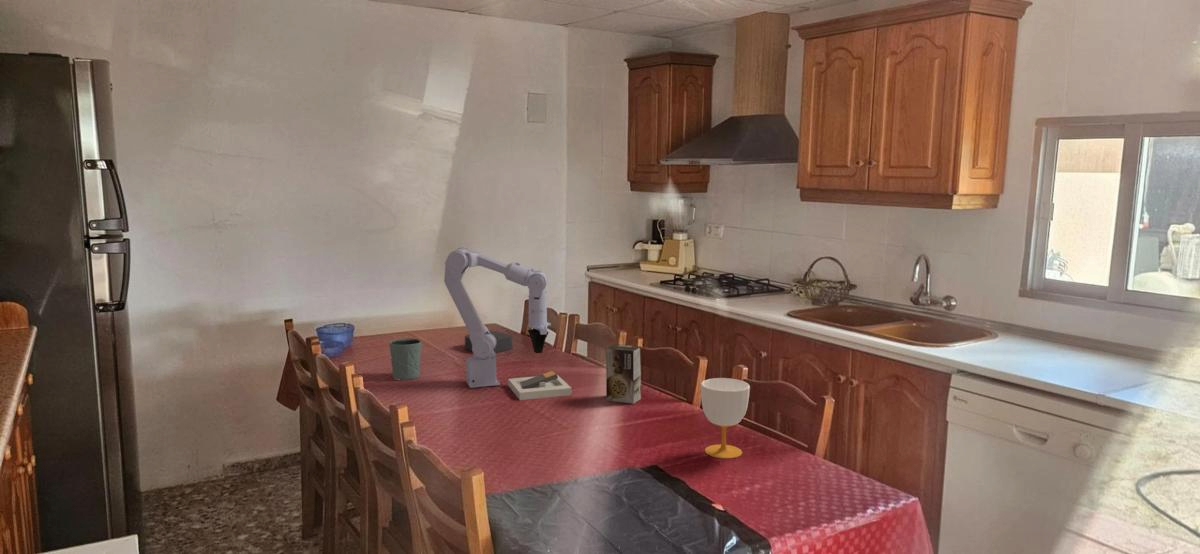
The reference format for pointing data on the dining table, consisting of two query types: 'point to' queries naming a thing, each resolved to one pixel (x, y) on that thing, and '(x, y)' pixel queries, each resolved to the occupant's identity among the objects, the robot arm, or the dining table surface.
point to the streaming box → (502, 342)
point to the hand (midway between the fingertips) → (538, 352)
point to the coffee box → (623, 373)
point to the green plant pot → (405, 358)
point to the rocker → (538, 380)
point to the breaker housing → (540, 389)
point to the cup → (724, 410)
